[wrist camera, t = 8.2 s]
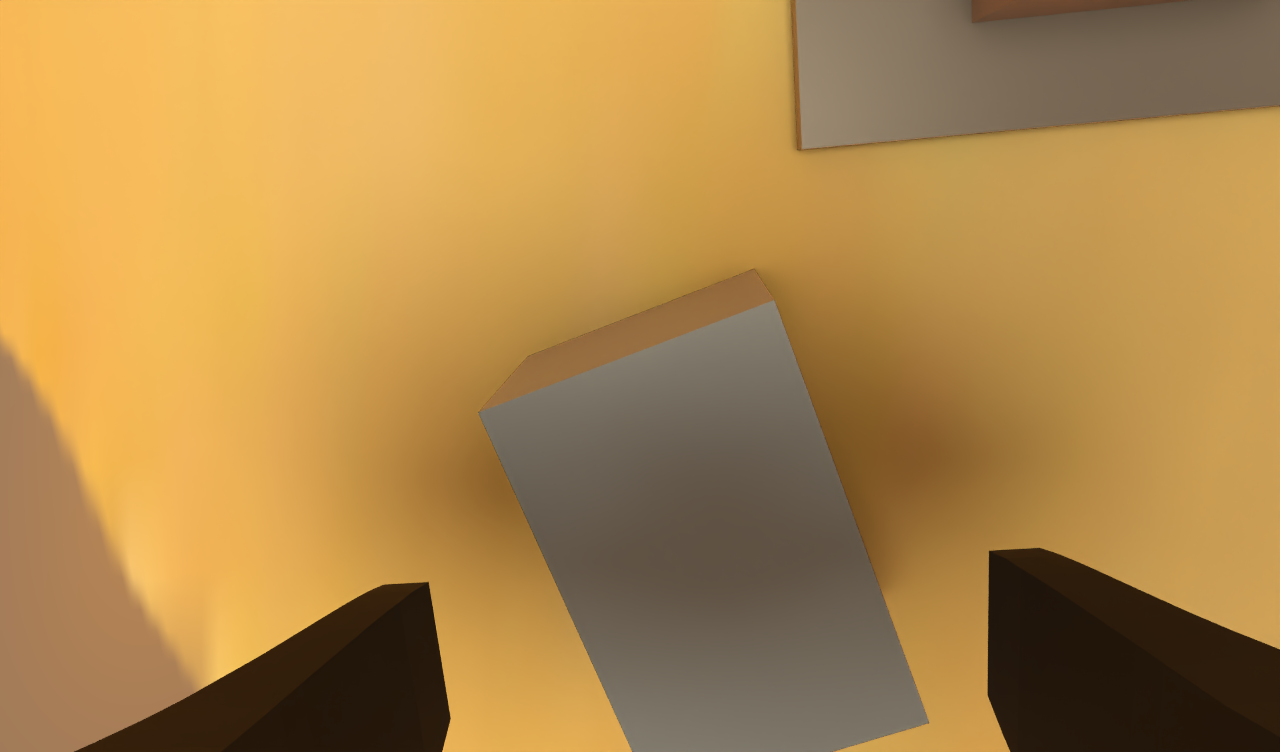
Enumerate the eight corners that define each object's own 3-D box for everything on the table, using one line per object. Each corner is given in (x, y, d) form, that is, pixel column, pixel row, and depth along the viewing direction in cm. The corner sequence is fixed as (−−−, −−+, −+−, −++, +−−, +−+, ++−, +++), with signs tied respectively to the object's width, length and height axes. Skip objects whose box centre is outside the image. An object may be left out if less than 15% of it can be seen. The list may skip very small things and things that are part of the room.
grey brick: (753, 267, 15) (773, 299, 11) (874, 595, 17) (929, 722, 13) (529, 353, 16) (478, 412, 12) (664, 662, 17) (656, 803, 14)
